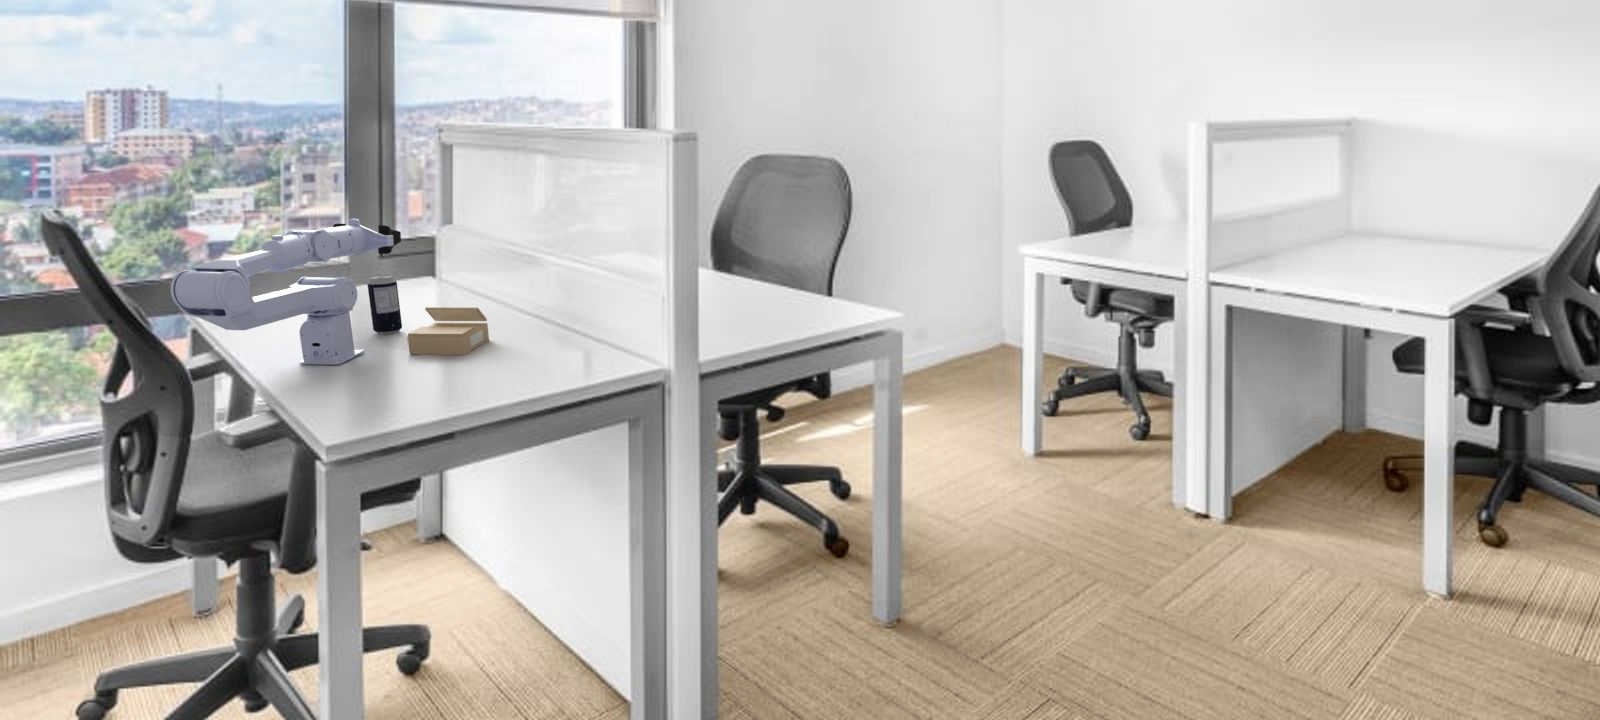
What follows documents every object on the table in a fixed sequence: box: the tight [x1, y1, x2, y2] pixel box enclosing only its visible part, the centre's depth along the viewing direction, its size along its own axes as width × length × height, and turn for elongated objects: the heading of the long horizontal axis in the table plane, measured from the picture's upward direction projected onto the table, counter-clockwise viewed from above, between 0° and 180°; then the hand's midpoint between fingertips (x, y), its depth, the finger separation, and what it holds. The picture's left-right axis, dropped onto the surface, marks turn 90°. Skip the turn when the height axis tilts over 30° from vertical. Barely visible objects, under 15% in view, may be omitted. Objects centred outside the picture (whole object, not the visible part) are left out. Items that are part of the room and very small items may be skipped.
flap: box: [424, 307, 488, 322], centre depth 203 cm, size 5×11×1 cm
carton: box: [407, 322, 490, 356], centre depth 200 cm, size 12×11×4 cm
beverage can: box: [367, 274, 403, 336], centre depth 212 cm, size 6×6×12 cm
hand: (382, 235), depth 207 cm, fingers open, 7 cm apart
